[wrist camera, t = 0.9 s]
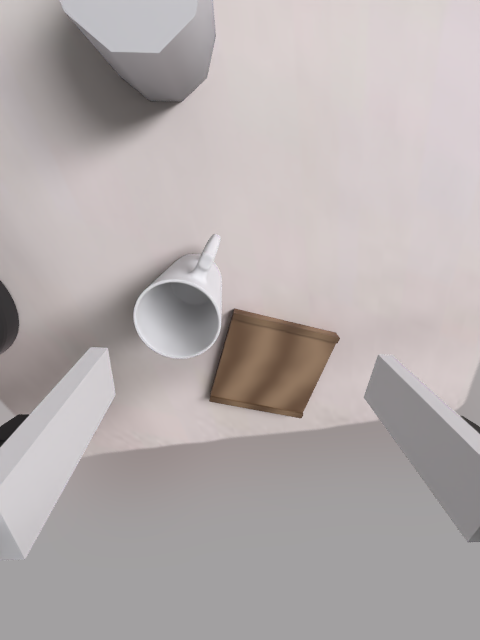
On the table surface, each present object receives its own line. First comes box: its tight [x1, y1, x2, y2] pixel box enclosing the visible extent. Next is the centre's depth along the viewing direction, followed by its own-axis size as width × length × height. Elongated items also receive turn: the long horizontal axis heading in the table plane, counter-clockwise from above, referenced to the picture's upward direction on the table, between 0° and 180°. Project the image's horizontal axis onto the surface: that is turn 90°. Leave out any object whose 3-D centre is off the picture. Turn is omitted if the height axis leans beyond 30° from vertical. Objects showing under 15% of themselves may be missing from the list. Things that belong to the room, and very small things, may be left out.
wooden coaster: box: [209, 309, 340, 418], centre depth 36 cm, size 14×14×2 cm
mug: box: [133, 234, 222, 359], centre depth 25 cm, size 10×7×12 cm, turn 152°
